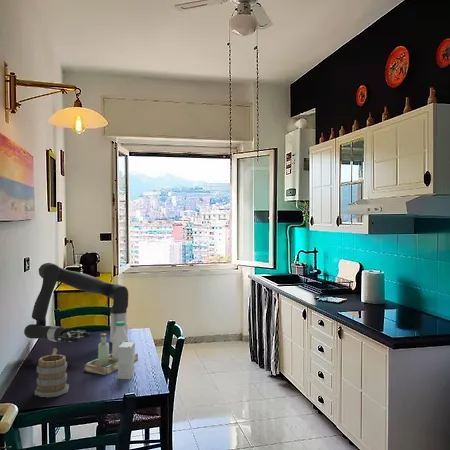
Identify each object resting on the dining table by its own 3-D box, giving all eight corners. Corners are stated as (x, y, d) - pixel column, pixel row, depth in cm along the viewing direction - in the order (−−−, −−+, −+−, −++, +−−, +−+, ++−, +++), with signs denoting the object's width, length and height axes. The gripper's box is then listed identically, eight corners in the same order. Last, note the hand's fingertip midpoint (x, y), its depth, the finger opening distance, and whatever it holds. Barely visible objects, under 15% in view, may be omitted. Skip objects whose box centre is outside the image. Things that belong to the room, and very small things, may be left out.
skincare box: (122, 373, 210) (122, 341, 210) (134, 373, 210) (135, 341, 210) (117, 379, 201) (117, 346, 201) (131, 379, 201) (131, 346, 201)
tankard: (66, 396, 182) (66, 359, 182) (32, 398, 179) (32, 361, 179) (72, 379, 202) (72, 345, 202) (42, 381, 199) (42, 347, 199)
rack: (117, 356, 235) (117, 350, 235) (137, 359, 230) (137, 353, 230) (84, 371, 212) (84, 364, 212) (105, 374, 207) (105, 367, 207)
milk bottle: (114, 364, 222) (114, 324, 221) (110, 360, 229) (110, 321, 228) (129, 362, 225) (129, 322, 225) (125, 358, 232) (125, 319, 232)
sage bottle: (102, 366, 219) (103, 332, 219) (111, 368, 217) (111, 333, 217) (95, 369, 214) (96, 334, 214) (104, 371, 212) (104, 335, 212)
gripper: (48, 330, 221) (73, 333, 215) (68, 323, 234) (93, 326, 228) (48, 345, 222) (73, 349, 215) (69, 338, 235) (93, 341, 228)
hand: (84, 337), depth 221 cm, fingers open, 8 cm apart
